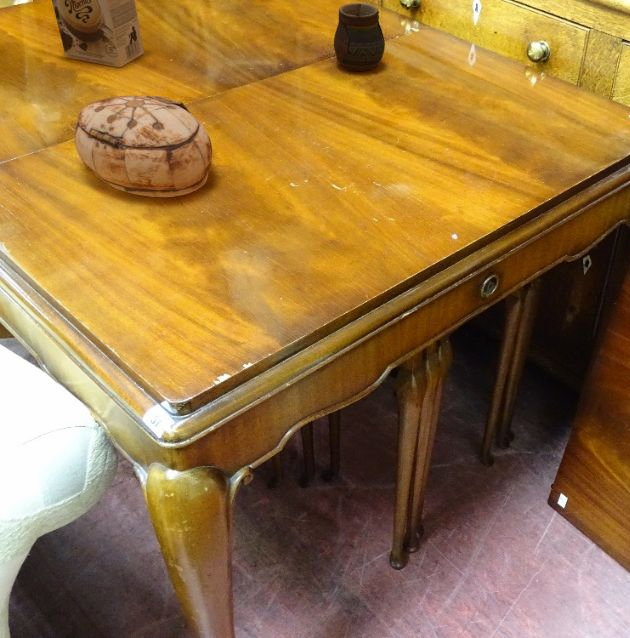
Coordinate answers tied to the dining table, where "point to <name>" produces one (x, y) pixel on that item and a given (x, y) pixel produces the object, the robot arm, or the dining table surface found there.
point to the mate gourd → (359, 37)
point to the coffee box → (99, 30)
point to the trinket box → (144, 145)
